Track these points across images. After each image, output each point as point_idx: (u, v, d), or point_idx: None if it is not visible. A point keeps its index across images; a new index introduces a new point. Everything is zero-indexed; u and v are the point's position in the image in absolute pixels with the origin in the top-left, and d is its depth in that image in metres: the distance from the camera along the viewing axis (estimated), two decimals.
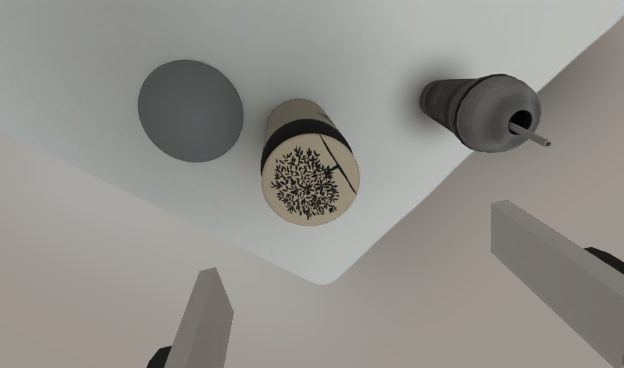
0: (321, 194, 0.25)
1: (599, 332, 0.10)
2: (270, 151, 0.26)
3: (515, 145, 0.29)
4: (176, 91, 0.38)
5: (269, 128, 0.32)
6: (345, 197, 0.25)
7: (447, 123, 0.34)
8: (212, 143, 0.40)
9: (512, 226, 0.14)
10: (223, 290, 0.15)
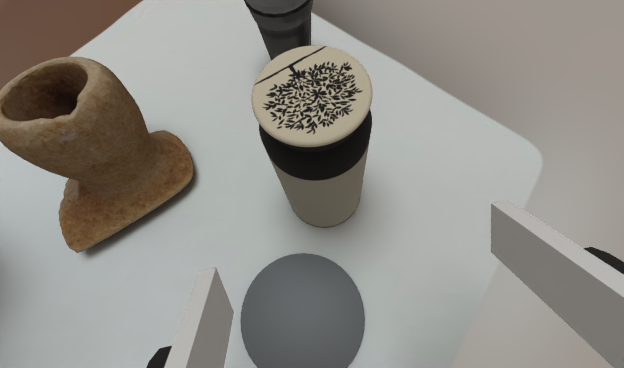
0: (325, 79, 0.20)
1: (599, 332, 0.10)
2: (285, 154, 0.21)
3: None
4: (274, 331, 0.31)
5: (294, 195, 0.28)
6: (330, 55, 0.21)
7: (295, 32, 0.34)
8: (339, 293, 0.32)
9: (512, 226, 0.14)
10: (223, 290, 0.15)
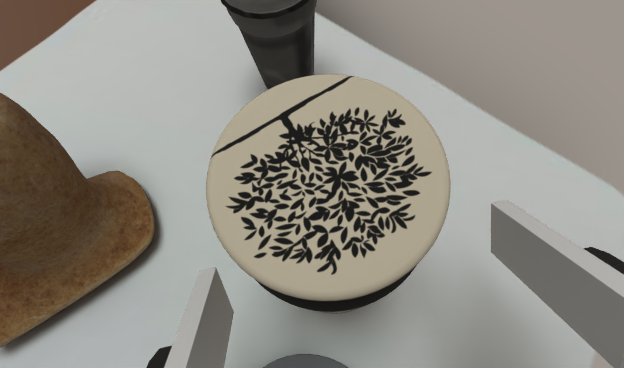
0: (354, 145, 0.10)
1: (599, 332, 0.10)
2: None
3: None
4: None
5: None
6: (361, 95, 0.11)
7: (292, 40, 0.24)
8: None
9: (512, 226, 0.14)
10: (223, 290, 0.15)
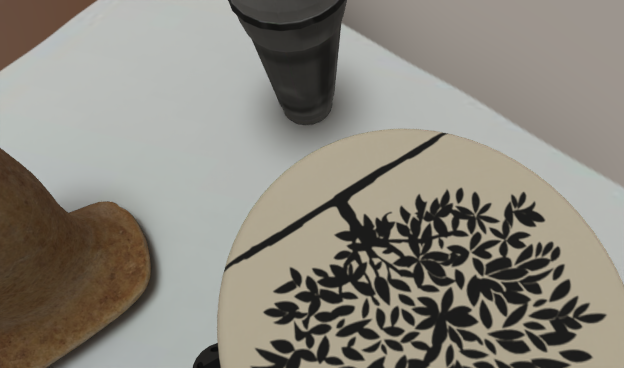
0: (462, 257, 0.06)
1: None
2: None
3: None
4: None
5: None
6: (462, 166, 0.07)
7: (316, 54, 0.20)
8: None
9: None
10: None
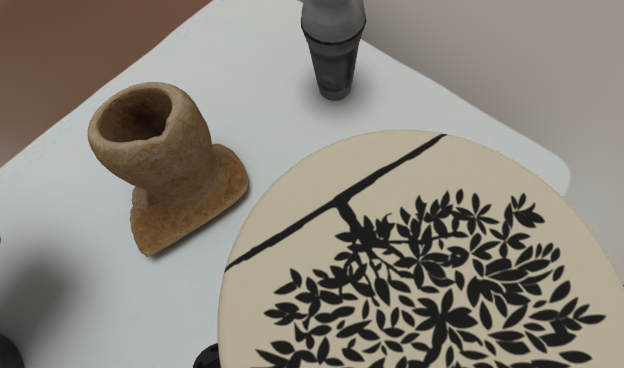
0: (462, 258, 0.06)
1: None
2: None
3: None
4: None
5: None
6: (462, 167, 0.07)
7: (346, 57, 0.38)
8: None
9: None
10: None
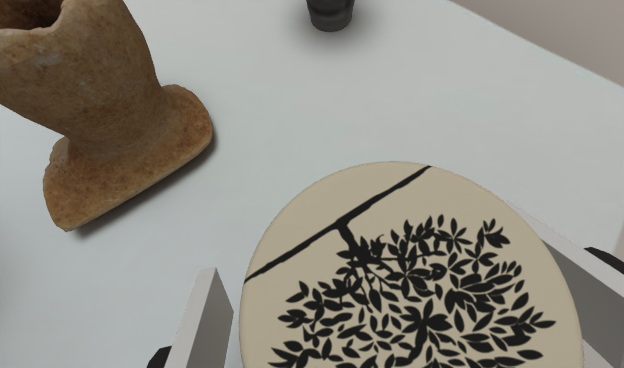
0: (441, 273, 0.07)
1: (599, 332, 0.10)
2: None
3: None
4: None
5: None
6: (444, 196, 0.08)
7: None
8: None
9: None
10: (223, 290, 0.15)
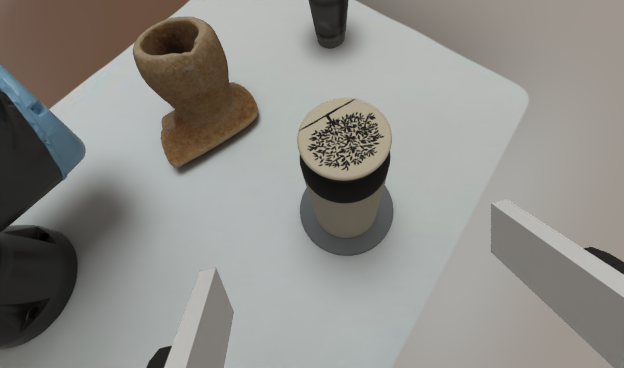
0: (355, 126, 0.26)
1: (599, 332, 0.10)
2: (322, 184, 0.27)
3: None
4: None
5: (324, 213, 0.33)
6: (358, 107, 0.27)
7: (338, 2, 0.46)
8: None
9: (512, 226, 0.14)
10: (223, 290, 0.15)
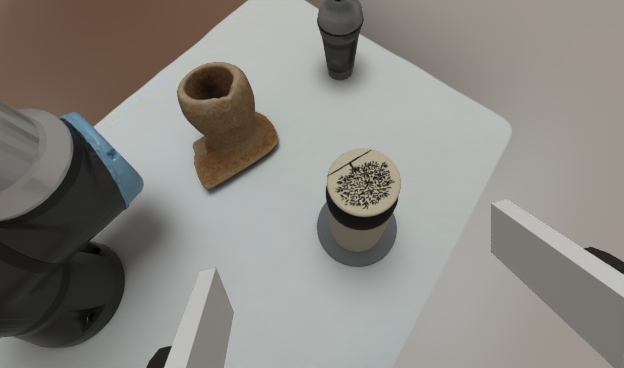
0: (372, 173, 0.33)
1: (599, 332, 0.10)
2: (346, 216, 0.34)
3: None
4: None
5: (342, 235, 0.41)
6: (374, 156, 0.34)
7: (349, 46, 0.53)
8: None
9: (512, 226, 0.14)
10: (223, 290, 0.15)
